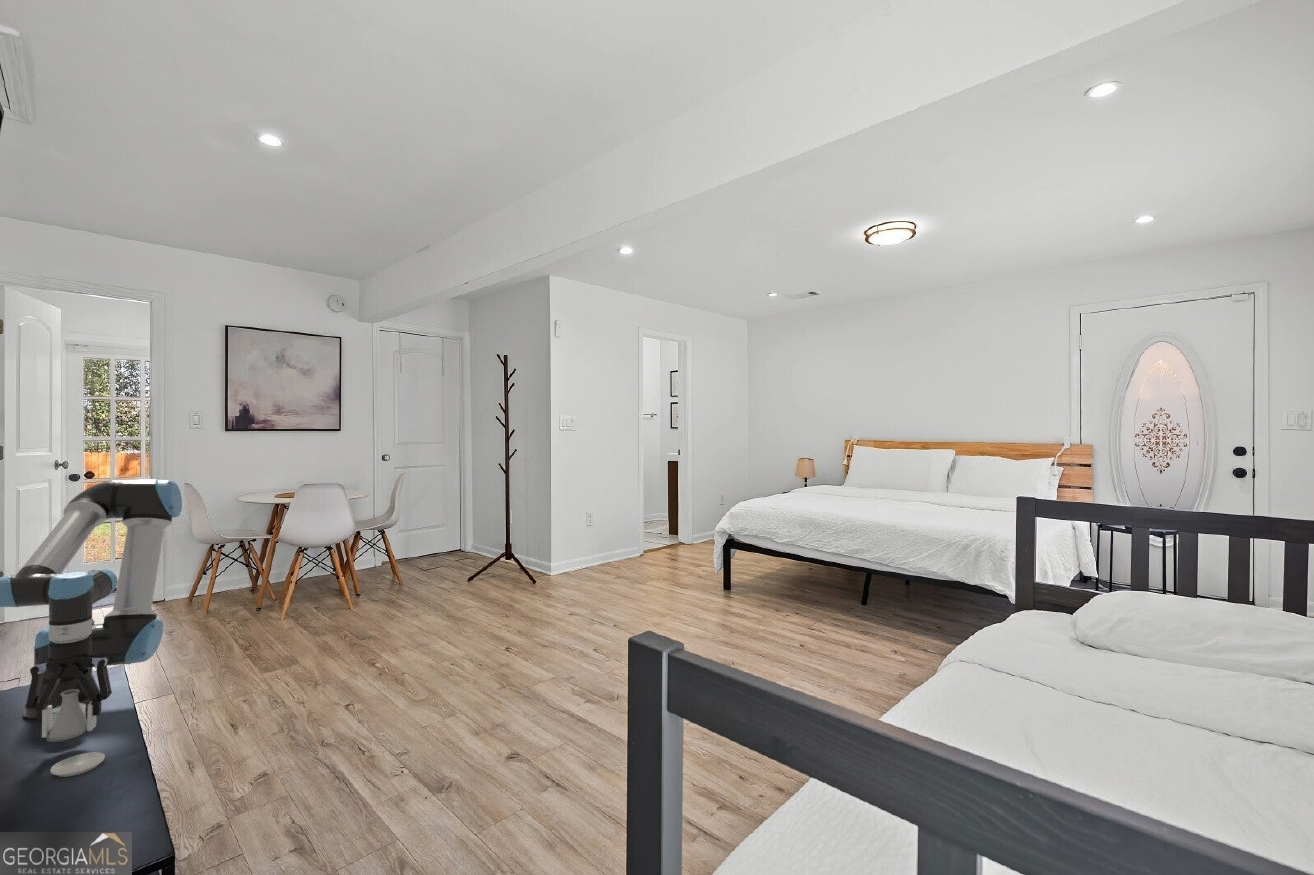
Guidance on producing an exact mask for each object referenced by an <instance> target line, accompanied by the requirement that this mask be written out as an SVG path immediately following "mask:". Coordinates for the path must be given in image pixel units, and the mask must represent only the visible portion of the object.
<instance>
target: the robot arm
mask: <svg viewBox="0 0 1314 875" xmlns="http://www.w3.org/2000/svg"><path fill="white" fill-rule="evenodd" d="M182 508H183V498H182V493H181V490H180V486H179V485H178V484H177V483H176V482H175V481H174V480H170V479H159V478H155V479H111V480H106V481H102V482H100V483H97V484H95V485H93V486H90V487H88V488H87V489H85V490H83V491H81V492H79V494H77V495H76V496H75V497H74V498H72V499H71V500H70V501H69V502H68V503H67V504H66V505H65V507H64V509H63V511H62V512H63V516H62V518H61V519H59V521H58V522H57V523H56V525H55V526H54V528H53V529H52V530H51V531H50V532H49V534H48V535H47V537H45V538H44V540H43V541H42V542H41V544H40V545H39V546H38V547H37V548H36V550H35V551H34V553H33V554H32V555H31V556H30V557H29V558H28V560H27V561H26V562H25V564H24V565H23V566H22V567H21V568H20V570H19V571H18V572H17V573H16V574H15V575H11V574H10V575H7V576H6V575H5V576H1V577H0V608H20V607H21V608H22V607H35V606H36V607H37V606H47V605H48V626H47V627H46V626H45V627H44V628H42V629H40V630H39V631H38V632H37V633H36V635H35V640H34V646H33V651H34V652H33V655H34V656H33V660H34V661H33V666H32V667H31V668H30V670H29V671H30V675H31V679H30V680H31V681H30V683H29V684H30V685H29V690H28V695H27V699H26V700H25V701H26V702H25V703H24V706H23V717H24V718H26V719H31V720H32V719H33V720H35V719H36V722H37V724H41V738H46V737H47V736H48V734H49V731H50V729H51V727H52V709H54V708H55V707H57V706H60V705H61V704H62V696H61V695H60V693H62V692H64V691H67V690H71V689H78V690H80V692H79V693H78V701H79V703H84V704H85V705H86V709H87V717H86V719H87V730H86V731H87V732H92V731H93V730H94V728H96V726H97V716H98V715H100V714H101V712H102V701H104V700H107V699H108V698H109V697H110V696H111V695H112V686H111V682H110V675H109V672H108V666H120V665H131V664H137V663H139V664H140V663H144V662H146V661H148V660H150V659H151V658H152V657H153V656H154V655H155V653H156V652H157V651H158V648H159V646H160V644H161V641H162V638H163V633H164V622H163V621H162V620H161V619H158V618H157V617H158V613H157V612H155V611H154V610H153V608H152V607H153V601H154V593H155V588H156V581H157V575H158V570H159V563H160V557H161V550H162V543H163V539H164V538H163V537H164V532H165V531H164V530H165V529H166V528H167V527H169V526H170V525H171V524H172V522H173V518H177V517H179V516H180V515H181V512H182V510H183V509H182ZM109 519H110V520H111V519H122V520H121V523H122V524H123V525H124V526H125V527H126V529H127V530H126V535H125V541H124V545H123V552H122V556H121V564H120V568H119V574H118V576H117V575H116V574H115V573H114V572H113V571H112V570H110V569H108V568H97V569H96V568H95V569H92V570H88V571H74V572H66V573H63V572H64V571H65V569H66V568H67V567H68V565H69V564H70V563H71V561H72V560H73V558H74V557H75V556H76V554H77V553H78V551H80V549H81V547H82V546H83V545H84V543H85V542H86V540H87V539H88V538H89V537H90V535H91V534H92V532H93V531H94V530H95V529H96V528H97V527H100V526H101V525H103V524H104V522H106V520H109ZM115 589H116V591H115ZM114 591H115V596H114V602H113V608H112V610H111V611H110V612H109V613H107V614H106V615H105V616H104V618H103V623H97V624H96V623H95V622H96V621H95V619H94V618H93V605H94V604H95V603H97V602H98V601H100V600H103V599H105V598H107V597H108V596H109V595H110V594H111V593H113V592H114ZM93 668H95V669H96V671H95V672H96V676H97V677H96V678H97V681H96V679H95V675H94V673H93ZM97 682H98V683H97Z"/></svg>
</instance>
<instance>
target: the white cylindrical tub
mask: <svg viewBox="0 0 1314 875" xmlns="http://www.w3.org/2000/svg"><path fill="white" fill-rule="evenodd" d="M79 705H80V707H81V709H82V711H83V713H84V715H85V716H86V709H87V708H86V705H85V704H84V703H79ZM60 708H61V705H60V706H57V707H55V708H54V709H52V725H53V723H54V722H55V719H56V717H57V715H58V713H59V711H60ZM84 733H85V732H83V733H81V734H78V735H75V736H72V737H69V738H66V739H51V738H50V737H49V736H47V737H45V738H46V741H47V742H48V743H58V742H59V743H60V742H64V741H69V740H71V739H75V738H77V737H80V736H81V735H83V734H84Z"/></svg>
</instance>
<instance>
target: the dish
mask: <svg viewBox="0 0 1314 875" xmlns="http://www.w3.org/2000/svg"><path fill="white" fill-rule="evenodd" d="M105 758H106V754H105V753H103V752H100V751H93V752H85V753H80V754H76V755H72V756H70V757H67V758H64V759H62V760H60V761H57V763H55V764H53V765H52V767H51V768H50V772H49V773H50V774H51V775H53V776H56V777H60V778H66V777H73V776H77V775H81V774H84V773H87V772H89V771H92V770H93V769H95V768H97V767H99V765H100V764H101V763H103V762H104V760H105Z"/></svg>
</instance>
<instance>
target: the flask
mask: <svg viewBox="0 0 1314 875" xmlns="http://www.w3.org/2000/svg"><path fill="white" fill-rule="evenodd" d="M79 692H80V690H78V689H71V690H67V691H64V692H62V693H60V695H61V696H62V704H61V708H60V711H59V713H58V715H57V717H56V719H55V722H54V723H53V725H52V727H51V729H50V731H49V734H48V736H49V737H50V738H51V739H66V738H69V737H72V736H75V735H78V734H81V733H83V732H84V733H85V732H86V731H87V717H86V714H85V715H84V713H83V711H82V709H81V707H80V705H79V701H78V693H79ZM84 733H83V734H84ZM81 735H82V734H81Z"/></svg>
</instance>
